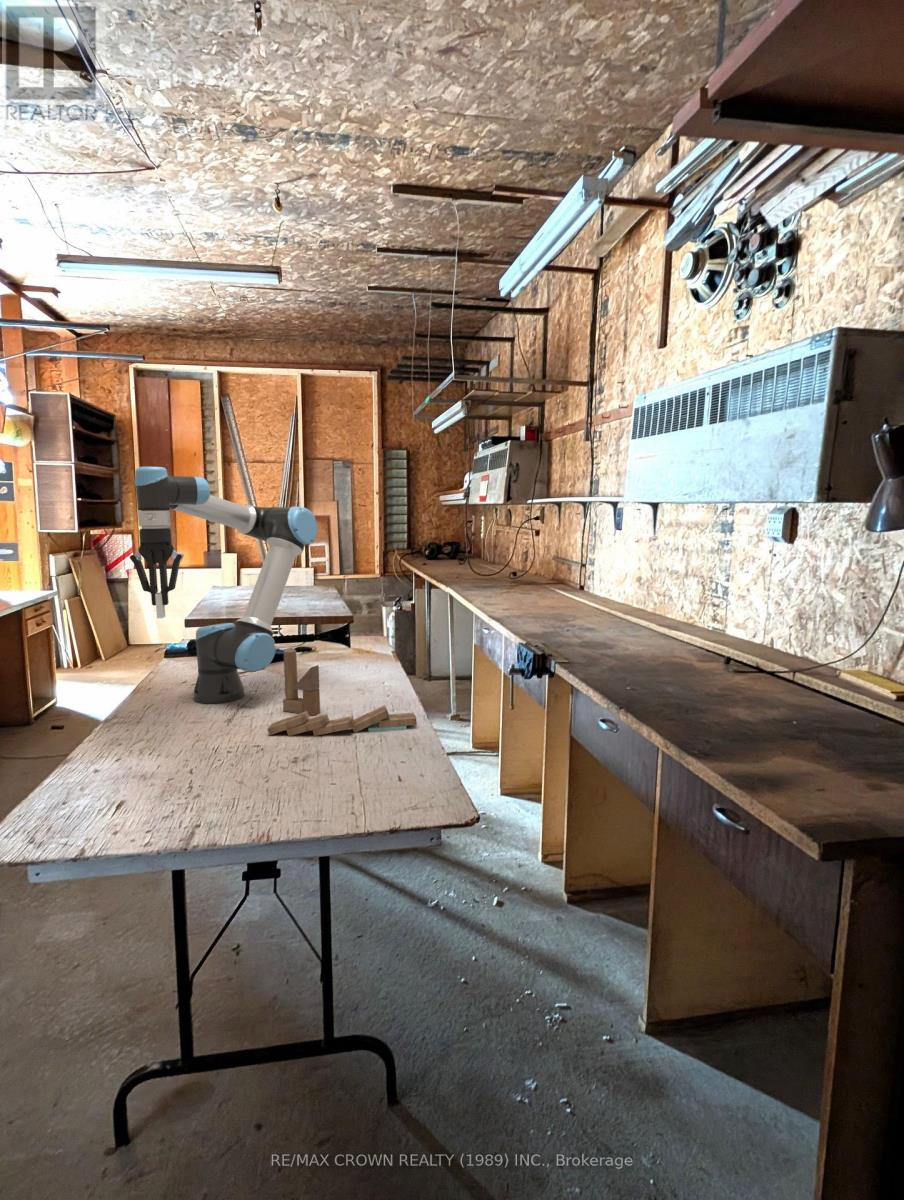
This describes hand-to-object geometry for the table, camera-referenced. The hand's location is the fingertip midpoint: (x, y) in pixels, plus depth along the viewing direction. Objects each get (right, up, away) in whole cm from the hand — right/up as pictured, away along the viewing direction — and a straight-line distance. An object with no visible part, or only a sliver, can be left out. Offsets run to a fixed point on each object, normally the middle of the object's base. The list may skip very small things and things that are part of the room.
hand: (161, 617), depth 172 cm
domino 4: (+50, -29, +2) cm, 58 cm away
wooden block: (+33, -28, +18) cm, 47 cm away
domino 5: (+54, -30, +3) cm, 62 cm away
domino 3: (+41, -30, 0) cm, 50 cm away
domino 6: (+57, -28, +3) cm, 64 cm away
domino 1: (+29, -30, 0) cm, 41 cm away
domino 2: (+34, -30, 0) cm, 45 cm away
